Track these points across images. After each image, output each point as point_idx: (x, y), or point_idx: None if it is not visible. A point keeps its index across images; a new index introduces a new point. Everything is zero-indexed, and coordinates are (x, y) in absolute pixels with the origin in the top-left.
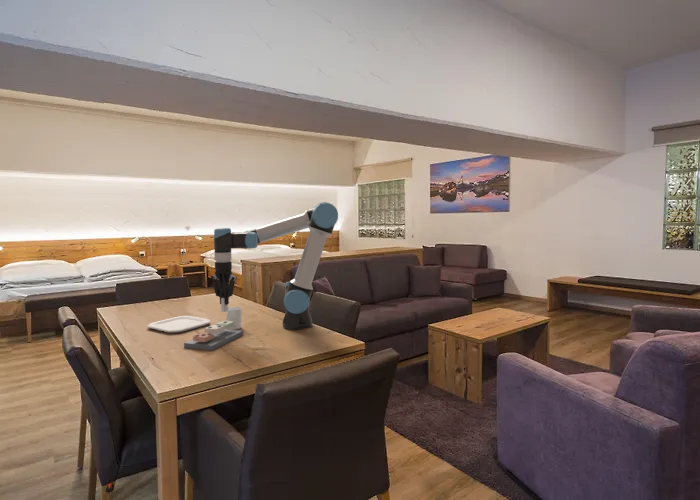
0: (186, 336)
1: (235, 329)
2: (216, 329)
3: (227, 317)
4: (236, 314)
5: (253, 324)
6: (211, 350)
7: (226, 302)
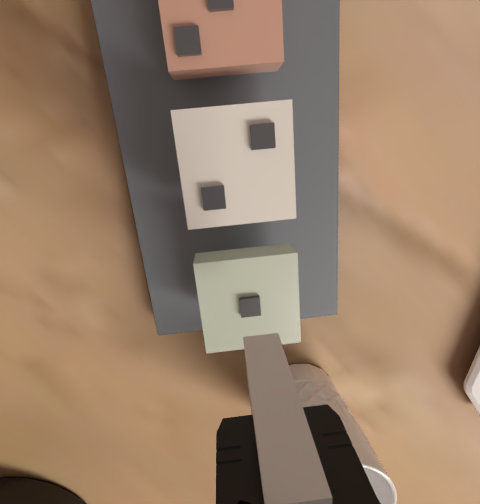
0: (461, 168)
1: None
2: (171, 114)
3: None
4: None
5: None
6: None
7: (225, 448)
